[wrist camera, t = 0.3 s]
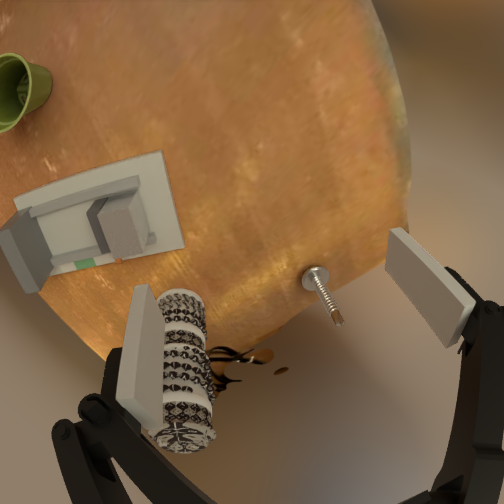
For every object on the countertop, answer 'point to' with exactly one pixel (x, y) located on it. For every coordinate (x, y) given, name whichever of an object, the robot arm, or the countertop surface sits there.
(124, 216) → the plunger
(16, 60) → the plant pot
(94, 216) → the dark grey upright block
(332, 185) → the countertop surface
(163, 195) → the base
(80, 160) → the countertop surface
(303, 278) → the screw
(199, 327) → the decorative candle
